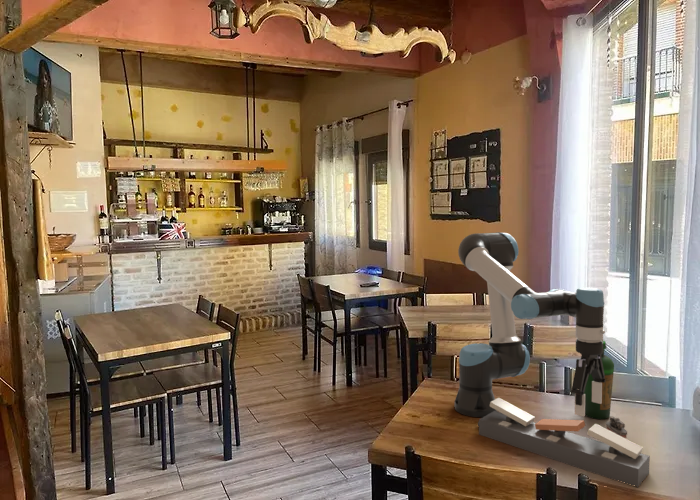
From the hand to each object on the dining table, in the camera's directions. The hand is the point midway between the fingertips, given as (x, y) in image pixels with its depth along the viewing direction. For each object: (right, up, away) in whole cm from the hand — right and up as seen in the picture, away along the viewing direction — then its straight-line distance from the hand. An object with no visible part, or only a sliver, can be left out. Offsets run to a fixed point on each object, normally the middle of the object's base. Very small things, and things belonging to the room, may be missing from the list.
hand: (588, 408), depth 156 cm
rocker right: (+2, -5, -12) cm, 13 cm away
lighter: (+8, -13, -1) cm, 15 cm away
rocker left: (-20, -4, +10) cm, 23 cm away
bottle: (+15, -10, +26) cm, 31 cm away
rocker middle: (-9, -5, -1) cm, 10 cm away
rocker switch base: (-11, -13, 0) cm, 17 cm away
